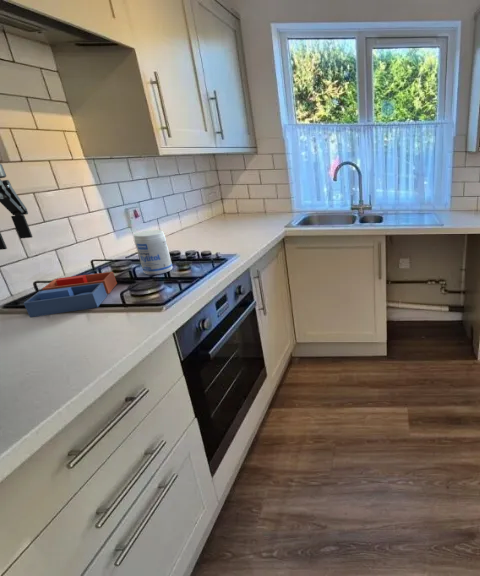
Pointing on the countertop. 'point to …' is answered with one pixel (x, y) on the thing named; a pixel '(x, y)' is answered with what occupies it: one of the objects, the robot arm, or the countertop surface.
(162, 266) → the supplement tub
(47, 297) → the blue spoon
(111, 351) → the countertop surface
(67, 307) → the blue bin
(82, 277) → the red spoon
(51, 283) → the red bin
